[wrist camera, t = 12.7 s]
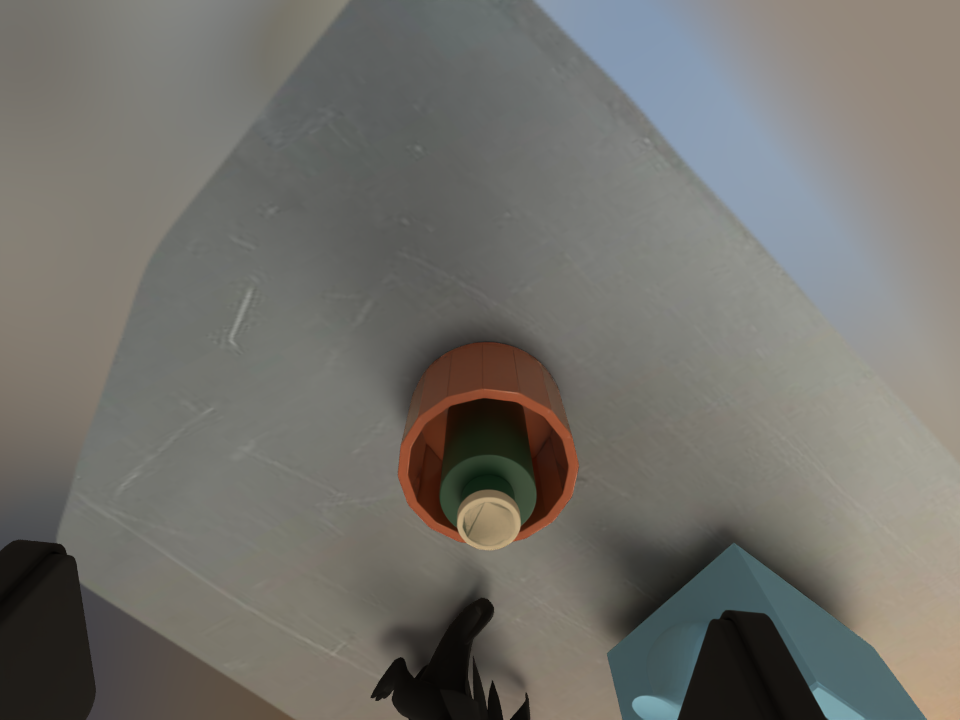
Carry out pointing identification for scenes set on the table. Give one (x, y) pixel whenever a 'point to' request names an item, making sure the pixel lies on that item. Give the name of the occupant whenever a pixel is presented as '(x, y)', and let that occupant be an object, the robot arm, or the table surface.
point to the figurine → (447, 677)
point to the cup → (490, 377)
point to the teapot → (800, 622)
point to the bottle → (487, 472)
